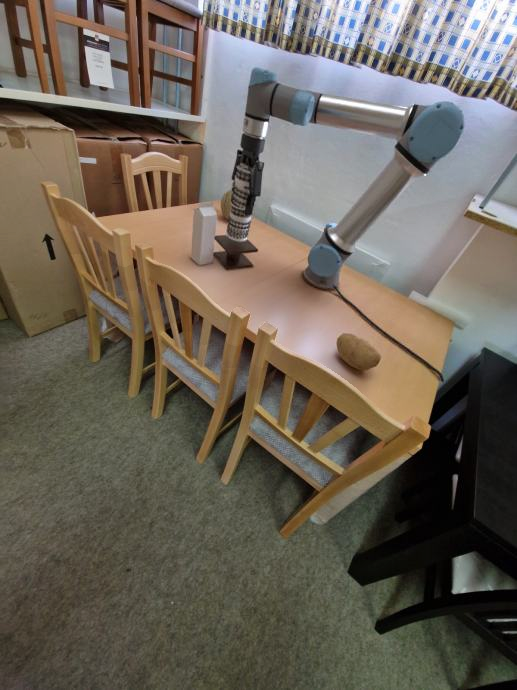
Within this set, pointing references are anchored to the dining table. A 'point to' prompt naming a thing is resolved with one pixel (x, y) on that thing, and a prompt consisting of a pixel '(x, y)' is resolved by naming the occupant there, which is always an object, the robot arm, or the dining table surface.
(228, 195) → the cantaloupe
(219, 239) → the stand
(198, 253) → the milk
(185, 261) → the dining table surface
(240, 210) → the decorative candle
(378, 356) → the potato
